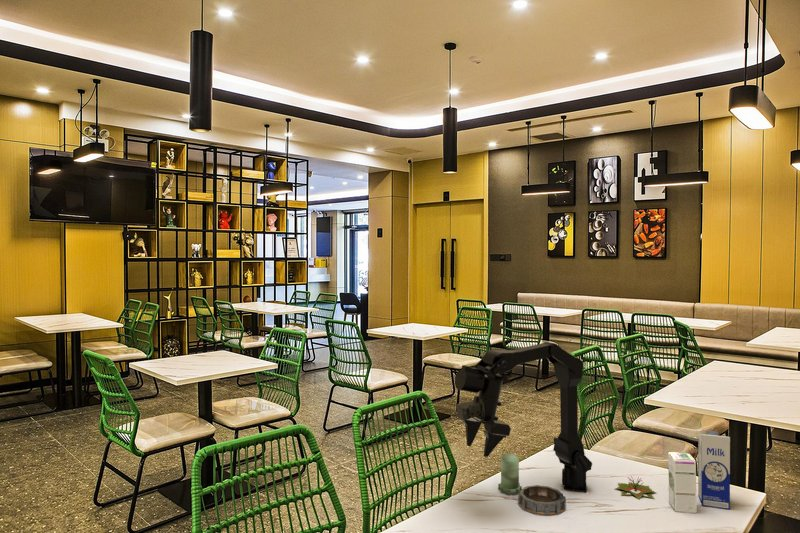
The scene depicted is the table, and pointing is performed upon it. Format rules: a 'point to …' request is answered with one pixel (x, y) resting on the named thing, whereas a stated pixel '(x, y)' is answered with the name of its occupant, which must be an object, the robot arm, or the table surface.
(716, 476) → the milk carton
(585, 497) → the table surface
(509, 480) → the green marbled cylinder
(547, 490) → the gear collar
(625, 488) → the lily flower
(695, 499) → the syrup box
